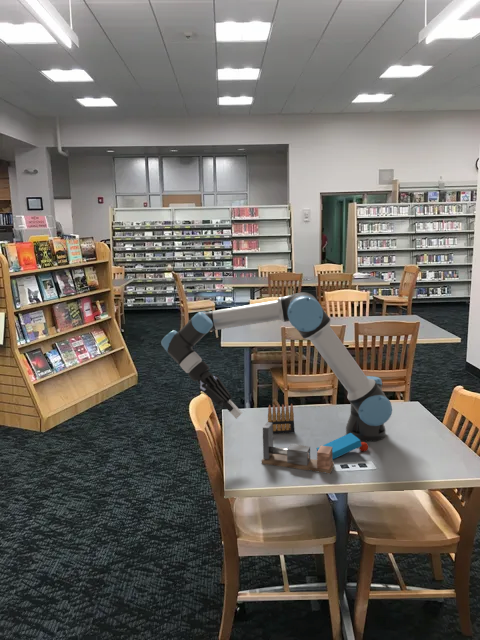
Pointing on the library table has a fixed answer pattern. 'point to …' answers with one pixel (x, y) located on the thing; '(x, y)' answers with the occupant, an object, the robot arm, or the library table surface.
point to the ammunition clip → (281, 419)
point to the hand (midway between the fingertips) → (239, 415)
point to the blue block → (345, 445)
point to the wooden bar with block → (303, 459)
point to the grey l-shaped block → (271, 443)
